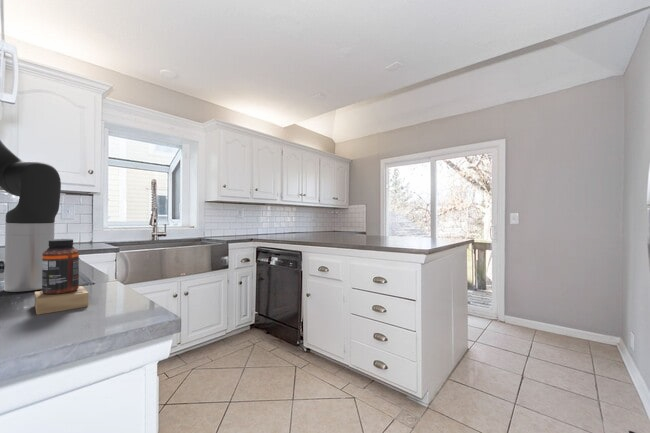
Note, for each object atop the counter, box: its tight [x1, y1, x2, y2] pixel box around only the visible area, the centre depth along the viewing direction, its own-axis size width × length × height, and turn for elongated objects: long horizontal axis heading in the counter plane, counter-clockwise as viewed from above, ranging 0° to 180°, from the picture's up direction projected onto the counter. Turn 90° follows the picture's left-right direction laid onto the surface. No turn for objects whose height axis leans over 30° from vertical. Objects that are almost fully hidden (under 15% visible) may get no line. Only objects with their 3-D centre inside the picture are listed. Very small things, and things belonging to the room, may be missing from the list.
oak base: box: [34, 285, 89, 315], centre depth 64 cm, size 8×8×3 cm
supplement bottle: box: [41, 238, 80, 294], centre depth 64 cm, size 6×6×11 cm
